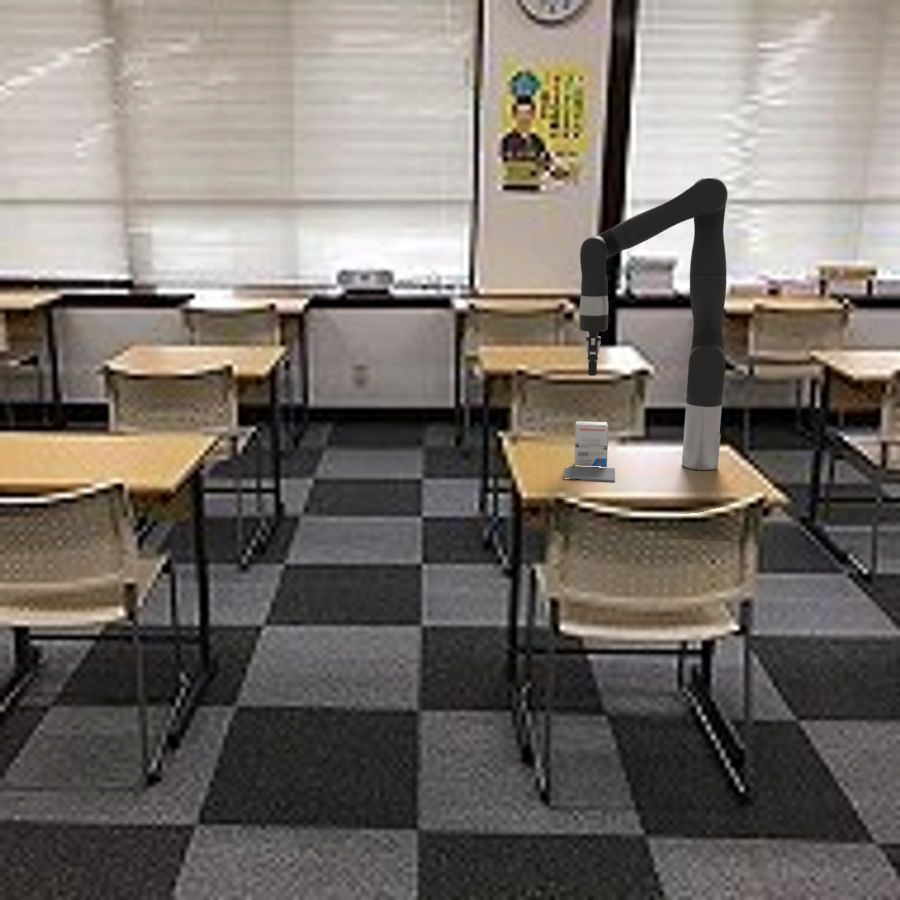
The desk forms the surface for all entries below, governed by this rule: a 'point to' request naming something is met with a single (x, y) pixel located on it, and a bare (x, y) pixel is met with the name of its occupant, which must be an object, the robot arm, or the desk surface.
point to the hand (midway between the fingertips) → (592, 372)
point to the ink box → (591, 443)
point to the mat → (590, 473)
